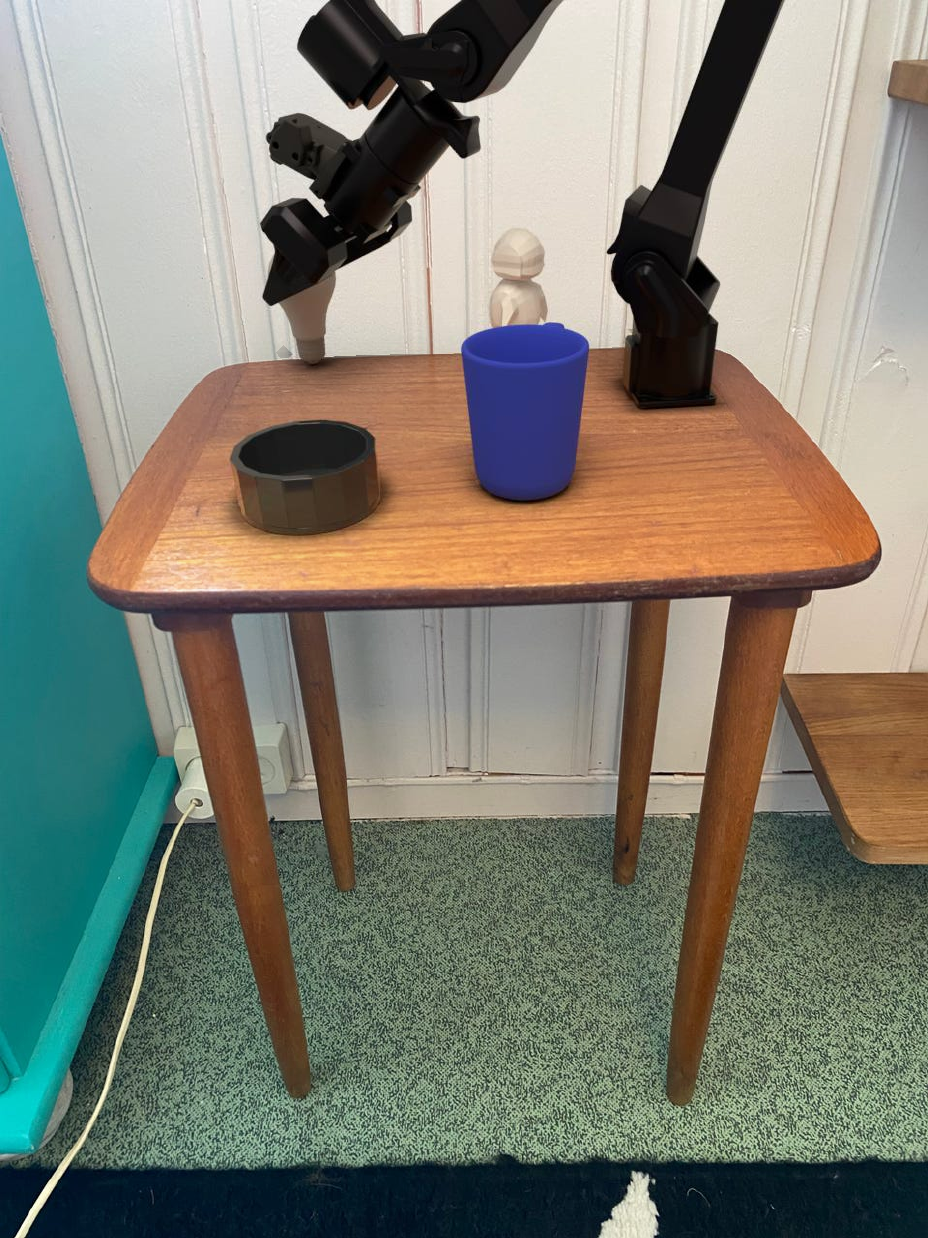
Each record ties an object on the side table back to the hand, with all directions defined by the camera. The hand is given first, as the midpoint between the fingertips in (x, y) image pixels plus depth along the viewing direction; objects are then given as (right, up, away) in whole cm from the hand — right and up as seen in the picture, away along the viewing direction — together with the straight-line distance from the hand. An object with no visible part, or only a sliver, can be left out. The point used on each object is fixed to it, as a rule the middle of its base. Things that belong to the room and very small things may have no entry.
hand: (291, 287), depth 83 cm
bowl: (+5, -22, -20) cm, 30 cm away
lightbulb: (+1, -6, +4) cm, 7 cm away
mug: (+21, -20, -18) cm, 34 cm away
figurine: (+21, -7, +1) cm, 22 cm away
